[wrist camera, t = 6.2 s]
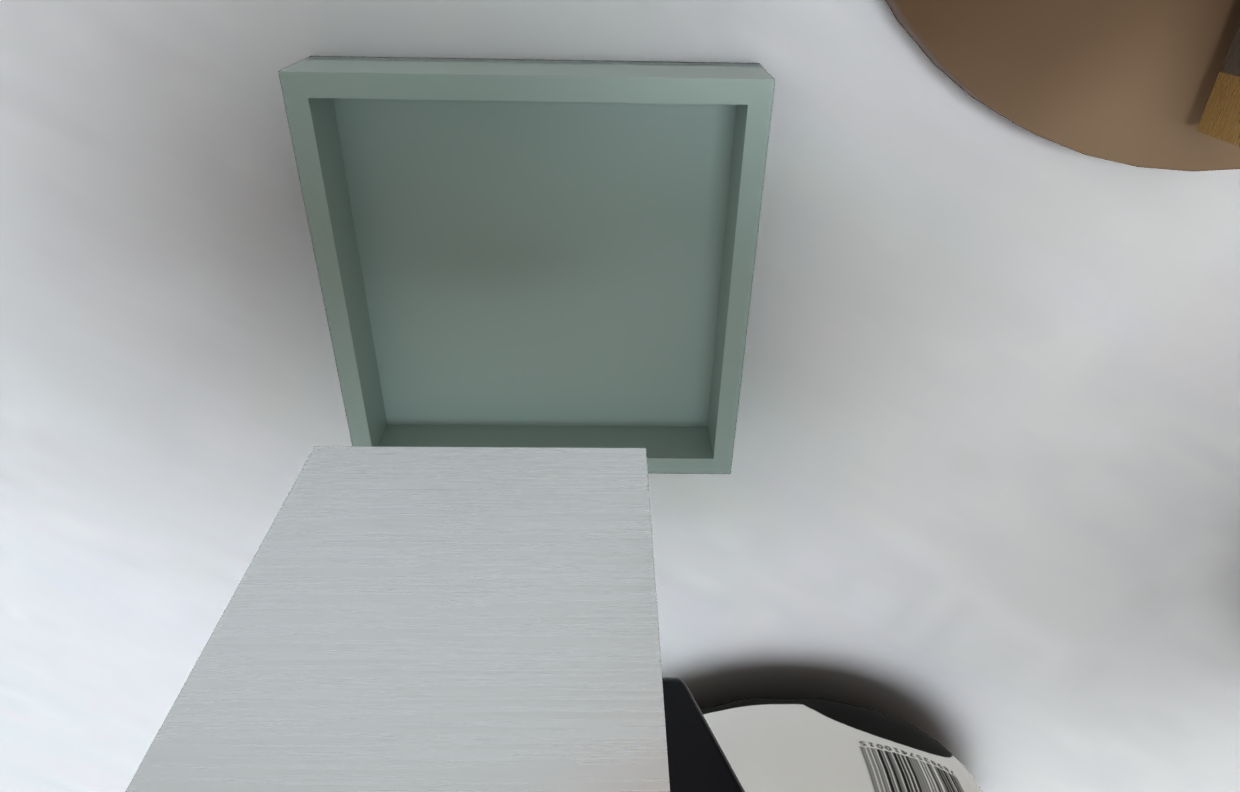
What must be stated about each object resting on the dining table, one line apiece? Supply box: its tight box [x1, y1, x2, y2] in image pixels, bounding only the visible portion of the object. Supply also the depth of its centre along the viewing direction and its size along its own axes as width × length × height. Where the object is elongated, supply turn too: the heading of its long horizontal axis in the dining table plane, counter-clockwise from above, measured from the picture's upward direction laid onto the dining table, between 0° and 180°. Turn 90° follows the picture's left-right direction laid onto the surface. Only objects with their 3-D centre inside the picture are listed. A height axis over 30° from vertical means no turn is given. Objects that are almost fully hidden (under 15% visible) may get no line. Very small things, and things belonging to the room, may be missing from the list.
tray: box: [278, 56, 775, 474], centre depth 19 cm, size 10×10×2 cm
